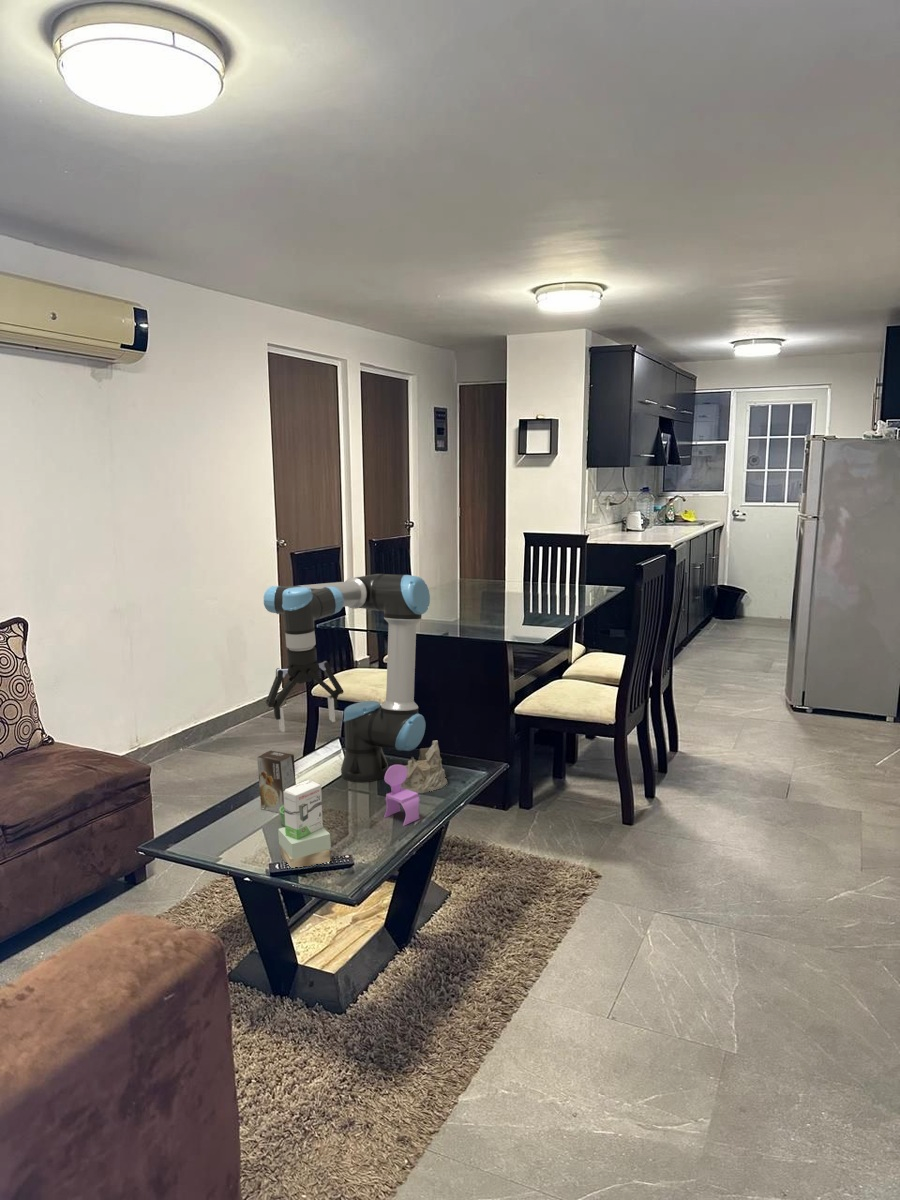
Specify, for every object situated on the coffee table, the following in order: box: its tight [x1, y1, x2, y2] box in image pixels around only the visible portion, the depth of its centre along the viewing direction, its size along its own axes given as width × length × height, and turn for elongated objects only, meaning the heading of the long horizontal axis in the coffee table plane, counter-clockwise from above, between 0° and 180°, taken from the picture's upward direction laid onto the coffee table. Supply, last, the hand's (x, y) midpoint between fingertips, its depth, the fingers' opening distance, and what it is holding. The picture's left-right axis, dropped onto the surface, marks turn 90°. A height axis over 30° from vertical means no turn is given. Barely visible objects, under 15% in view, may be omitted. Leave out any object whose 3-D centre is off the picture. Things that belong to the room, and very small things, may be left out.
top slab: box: [277, 826, 332, 859], centre depth 205 cm, size 10×10×4 cm
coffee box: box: [256, 750, 297, 814], centre depth 236 cm, size 9×6×16 cm
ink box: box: [283, 779, 324, 839], centre depth 203 cm, size 9×5×12 cm, turn 141°
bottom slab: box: [280, 846, 331, 868], centre depth 205 cm, size 10×10×4 cm
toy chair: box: [382, 764, 421, 827], centre depth 227 cm, size 8×9×15 cm
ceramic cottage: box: [401, 740, 448, 794], centre depth 252 cm, size 16×16×15 cm
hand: (307, 725), depth 214 cm, fingers open, 13 cm apart
